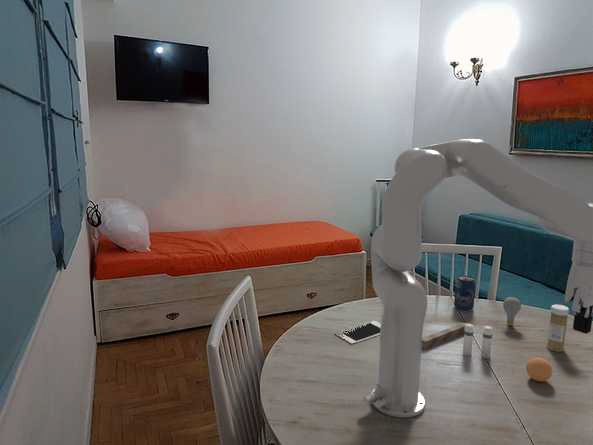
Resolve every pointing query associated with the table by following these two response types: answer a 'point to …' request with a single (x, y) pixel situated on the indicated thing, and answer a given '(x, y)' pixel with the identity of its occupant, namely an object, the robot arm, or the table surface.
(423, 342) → the brown wooden bar
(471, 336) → the side pin
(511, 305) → the light bulb
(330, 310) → the table surface
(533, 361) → the ball
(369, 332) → the cell phone
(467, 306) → the soda can
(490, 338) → the front pin
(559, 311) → the sprinkles bottle
